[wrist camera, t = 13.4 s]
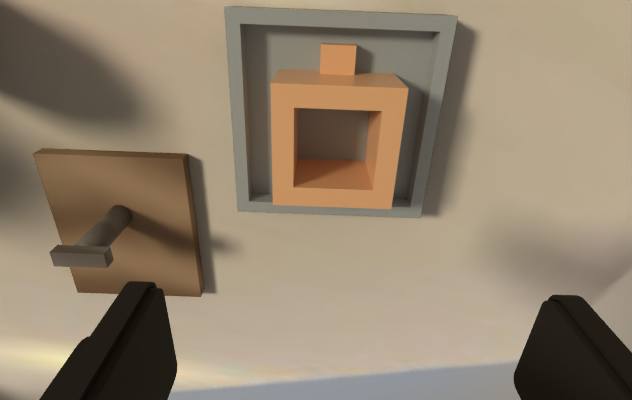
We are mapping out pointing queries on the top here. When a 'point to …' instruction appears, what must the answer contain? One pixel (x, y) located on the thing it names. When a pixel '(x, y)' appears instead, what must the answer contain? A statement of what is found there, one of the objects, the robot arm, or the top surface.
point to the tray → (334, 124)
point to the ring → (346, 94)
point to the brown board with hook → (123, 219)
